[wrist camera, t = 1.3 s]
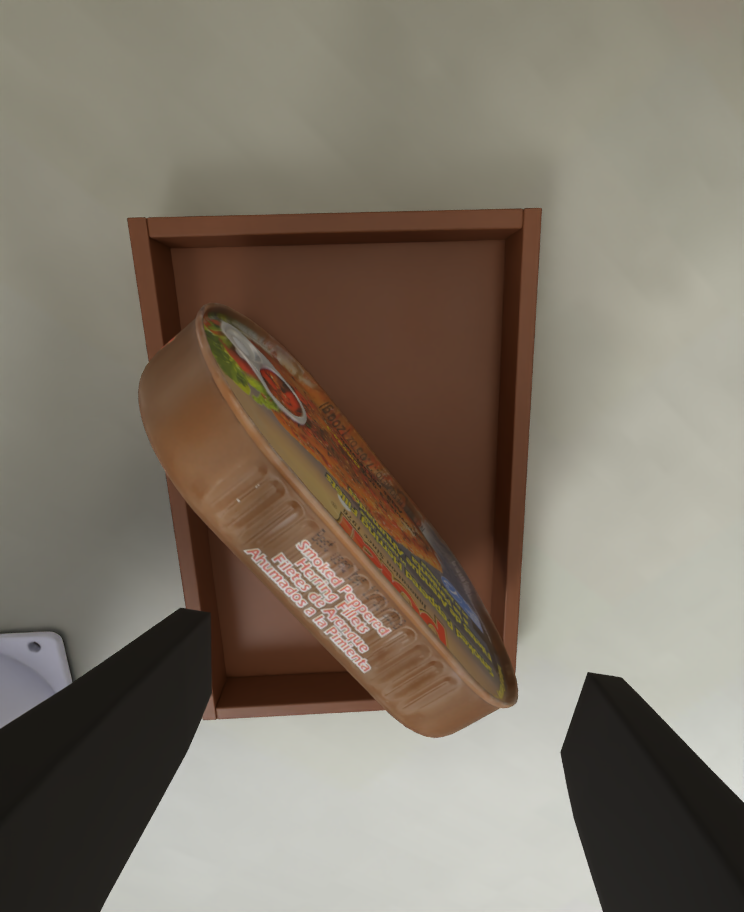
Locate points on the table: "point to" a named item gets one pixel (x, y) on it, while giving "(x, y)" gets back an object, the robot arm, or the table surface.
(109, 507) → the table surface
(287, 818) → the table surface
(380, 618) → the tin
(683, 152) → the table surface
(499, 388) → the tray
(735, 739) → the table surface
